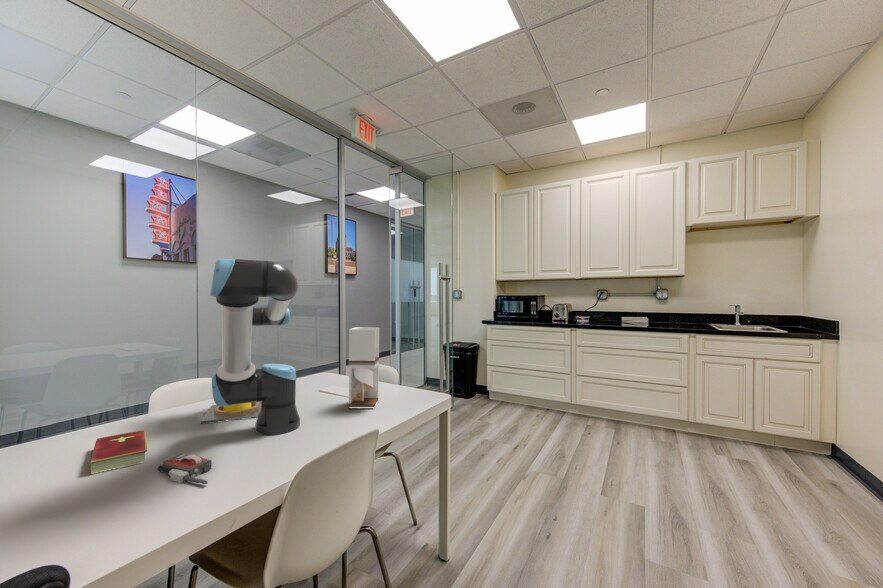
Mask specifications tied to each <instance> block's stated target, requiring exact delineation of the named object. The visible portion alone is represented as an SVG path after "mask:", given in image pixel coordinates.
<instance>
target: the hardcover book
mask: <svg viewBox="0 0 883 588" xmlns="http://www.w3.org/2000/svg"><path fill="white" fill-rule="evenodd" d="M94 443H95V444H94V447H93V449H92V450H93V451H92V454H91V458H90V462H89V464H88V476H92V475H94V473H95V474H99V473H98V472H100V473H103V472H102V471H104V472H108V471H112V470H111V469H113V470H116V468H117V469H120V468H125V466H126V467H129V466H134V465H138V463H139V464H142V462H143V463H145V462H146V453H147V452H148V445H147V444H148V443H147V429H141V430H135V431H130V432H124V433H119V434H113V435H108V436H104V437H97V438H96V440H95V442H94ZM107 470H108V471H107Z"/></svg>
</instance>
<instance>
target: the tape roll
mask: <svg viewBox="0 0 883 588" xmlns="http://www.w3.org/2000/svg"><path fill="white" fill-rule="evenodd" d="M248 408H251V403H244V404H236V405H231V406H224V411H237V410H243V409H248Z"/></svg>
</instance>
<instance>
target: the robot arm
mask: <svg viewBox="0 0 883 588" xmlns="http://www.w3.org/2000/svg"><path fill="white" fill-rule="evenodd" d="M213 269H214V270H213V274H212V275H213V276H212V281H211V288H210V296H211V297H214V298H215V300H216V303H217V304H218V305H219V306H221V365H220V366H218V368H217V369H216V372H213V373H212V375H211V392H212V397H213V401H214V403H215V404H214V405H218V406H231V405H236V404H244V403H252V402H261V410H260V413H259V416H258V417H257V419H256V422H255V425H254V427H255V428H254V431H255V432H256V433H257V434H260V435H265V436H266V435H271V436H273V435H279V434H285V433H289V432H292V431H294V430H296V429H298V428H299V427H300V425H301V417H300V414H299V411H298V409H297V405H296V397H297V396H296V395H297V393H296V392H297V391H296V385H297V383H296V381H297V373H296V368H295V367H294V366H292V365H289V364H285V363H265V364H263V365H262V366H261V368H258V369H256V366H255V364H254V363H253V362H252V342H253V341H252V339H253V336H252V335H253V327H257V326H258V327H259V326H260V327H264V326H268V327H269V326H279V327H280V326H281V327H282V326H287V325H289V323H290V321H291V320H290V318H291V313H290V308H289V305H290V302H291V300H292V299H294V297H295V296H297V291H298V288H299V281H298V280H297V277H296V276H295V274H294V272H293V271H291V270H290V269H289V268H288V267H286V266H285V265H283V264H282V263H280V262H276V261H274V260H260V259H259V260H258V259H257V260H256V259H239V258H234V257H233V258H219V259H217V260H216V262H215V264H214V268H213ZM259 298H267V302H266V306H265V307H263V306H262V307H254V306H256V305H257V304H258V303H259Z"/></svg>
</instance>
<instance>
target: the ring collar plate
mask: <svg viewBox="0 0 883 588" xmlns="http://www.w3.org/2000/svg"><path fill="white" fill-rule="evenodd" d="M260 410H261V402H252V403H251V408H248V409H243V410H237V411H224V406H218V405H216V404H212V405H211V406H210V407H209V408H208V410H207V412H206V413H205V414H204V416H203V418H202V419H201V420H200V424H201V425H203V423H205V424H211V423H210V422H214V423H219V422H218V421H222V422H227V421H226V420H231V421H235V420H234V419H240V420H243V419H242V418H249V419H251V418H250V417H257V418H258V416H259V413H260Z"/></svg>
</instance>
